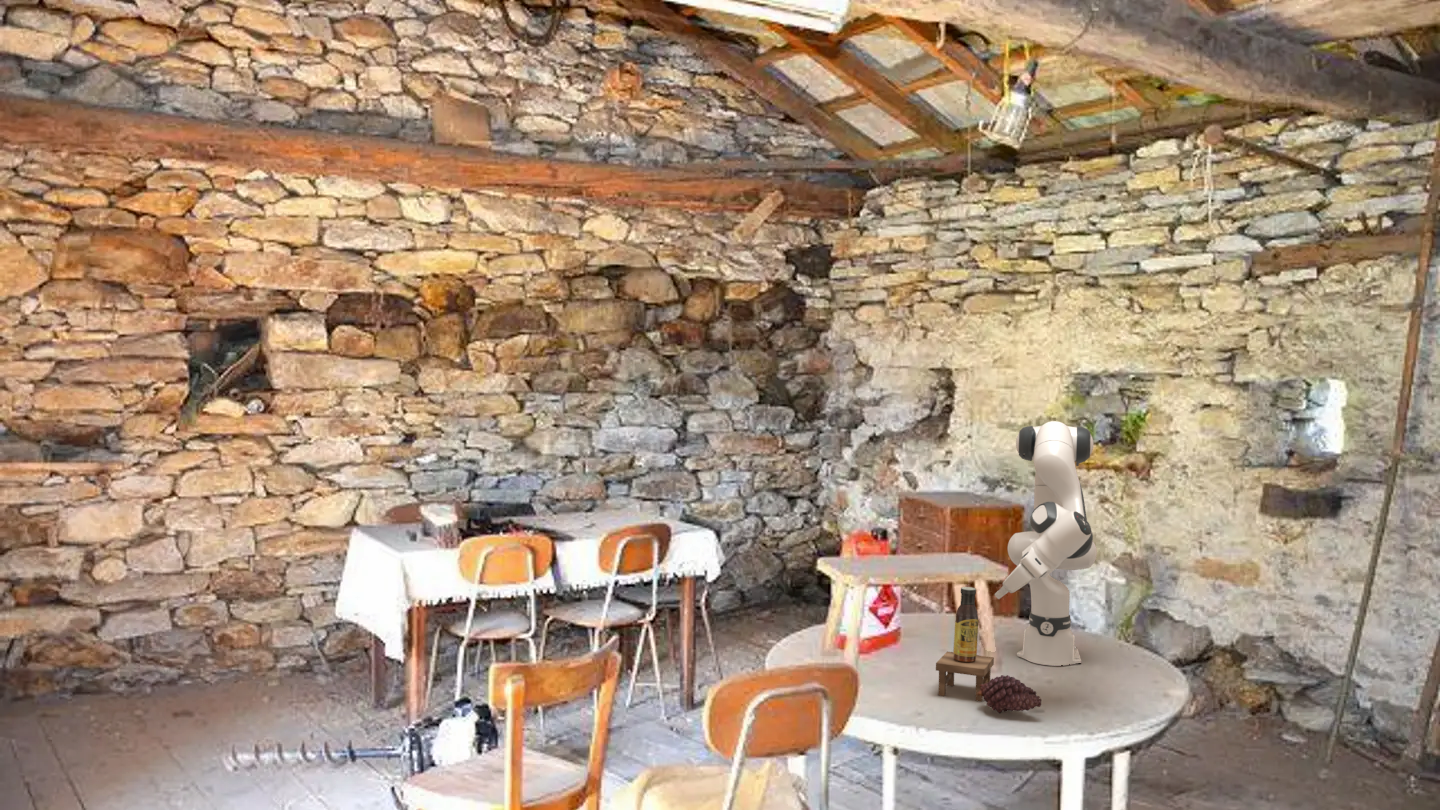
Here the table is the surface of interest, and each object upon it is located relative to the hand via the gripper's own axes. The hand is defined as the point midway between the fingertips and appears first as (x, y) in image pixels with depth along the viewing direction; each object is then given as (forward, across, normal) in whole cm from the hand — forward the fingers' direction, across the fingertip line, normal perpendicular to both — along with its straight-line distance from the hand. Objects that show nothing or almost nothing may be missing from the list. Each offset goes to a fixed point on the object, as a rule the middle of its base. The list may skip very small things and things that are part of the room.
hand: (1000, 593), depth 296 cm
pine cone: (+17, +13, +24) cm, 32 cm away
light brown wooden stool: (+26, 0, +14) cm, 30 cm away
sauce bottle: (+20, 0, +8) cm, 22 cm away
